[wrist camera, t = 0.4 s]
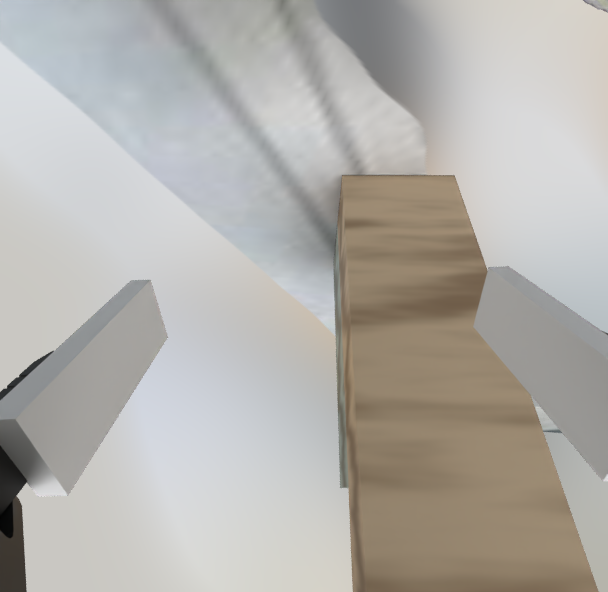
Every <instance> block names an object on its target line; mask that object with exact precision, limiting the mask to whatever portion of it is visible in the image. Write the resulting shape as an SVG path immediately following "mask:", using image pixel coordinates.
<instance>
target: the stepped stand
mask: <svg viewBox="0 0 608 592" xmlns="http://www.w3.org/2000/svg"><path fill="white" fill-rule="evenodd" d="M486 275H487V268H486V265H485V262H484V259H483V257H482V254H481V251H480V248H479V245H478V242H477V239H476V236H475V233H474V230H473V227H472V225H471V222H470V219H469V216H468V213H467V211H466V207H465V205H464V202H463V199H462V196H461V193H460V190H459V187H458V184H457V181H456V178H455V176H452V175H445V176H444V175H443V176H441V175H439V176H437V175H433V176H432V175H342V182H341V192H340V203H339V213H338V223H337V233H336V243H335V254H334V297H335V330H336V363H337V392H338V393H337V394H338V429H339V460H340V488H349V509H350V534H351V557H352V581H353V592H598V589H597V586H596V583H595V580H594V578H593V575H592V572H591V569H590V566H589V563H588V560H587V557H586V554H585V551H584V549H583V546H582V543H581V540H580V537H579V534H578V531H577V528H576V526H575V522H574V520H573V517H572V514H571V511H570V508H569V505H568V503H567V499H566V496H565V494H564V491H563V488H562V485H561V482H560V480H559V476H558V473H557V470H556V468H555V465H554V462H553V459H552V456H551V453H550V450H549V447H548V445H547V442H546V439H545V436H544V433H543V430H542V427H541V424H540V421H539V418H538V415H537V413H536V410H535V407H534V404H533V401H532V399H531V395H530V394H529V393H528V391H527V390H526V389H525V388H524V387H523V385H522V384H521V383H520V382H519V381H518V380H517V378H516V377H515V376H514V375H513V374H512V372H511V371H510V370H509V369H508V368H507V366H506V365H505V364H504V363H503V362H502V360H501V359H500V358H499V357H498V356H497V355H496V353H495V352H494V351H493V350H492V349H491V347H490V346H489V345H488V344H487V343H486V341H485V340H484V339H483V338H482V337H481V335H480V334H479V333H478V332H477V331H476V329H475V328H474V327H473V325H474V321H475V317H476V314H477V310H478V306H479V302H480V298H481V294H482V291H483V287H484V283H485V279H486Z"/></svg>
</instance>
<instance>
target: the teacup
mask: <svg viewBox="0 0 608 592" xmlns="http://www.w3.org/2000/svg"><path fill="white" fill-rule="evenodd" d="M583 1H584V2H586V3H587V4H590V5H592V6H594V7H595V8H597V9H601V10H603V11H606V12H608V0H583Z"/></svg>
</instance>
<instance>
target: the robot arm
mask: <svg viewBox="0 0 608 592" xmlns="http://www.w3.org/2000/svg"><path fill="white" fill-rule="evenodd" d="M473 327H474V328H475V329H476V331H477V332H478V333H479V334H480V335H481V337H482V338H483V339H484V340H485V341H486V343H487V344H488V345H489V346H490V347H491V349H492V350H493V351H494V352H495V353H496V355H497V356H498V357H499V358H500V359H501V360H502V362H503V363H504V364H505V365H506V366H507V368H508V369H509V370H510V371H511V372H512V374H513V375H514V376H515V377H516V378H517V380H518V381H519V382H520V383H521V384H522V385H523V387H524V388H525V389H526V390H527V391H528V393H529V394H530V395H531V396H532V397H533V399H534V400H535V401H536V402H537V403H538V404H539V406H540V407H541V408H542V409H543V410H544V412H545V413H546V414H547V415H548V416H549V418H550V419H551V420H552V421H553V422H554V424H555V425H556V426H557V427H558V428H559V430H560V431H561V432H562V433H563V434H564V436H565V437H566V438H567V439H568V440H569V441H570V443H571V444H572V445H573V446H574V447H575V449H577V451H578V452H579V453H580V455H581V456H582V457H583V458H584V459H585V460H586V462H587V463H588V464H589V465H590V466H591V468H592V469H593V470H594V471H595V472H596V474H597V475H598V476H599V477H600V478H601V480H602V481H608V333H605V332H603V331H601V330H599V329H598V328H597V327H595V326H594V325H592V324H591V323H590V322H588V321H586V320H585V319H584V318H582V317H581V316H580V315H578V314H577V313H575V312H574V311H572V310H571V309H569V308H568V307H567V306H565V305H564V304H562V303H561V302H559V301H558V300H556V299H555V298H554V297H552V296H551V295H549V294H548V293H546V292H545V291H543V290H542V289H540V288H539V287H538V286H536V285H535V284H533V283H532V282H530V281H529V280H528V279H526V278H525V277H523V276H522V275H520V274H519V273H517V272H516V271H515V270H513V269H512V268H510V267H509V266H506V267H489V268H488V271H487V275H486V279H485V283H484V287H483V291H482V294H481V298H480V302H479V306H478V310H477V314H476V317H475V321H474V325H473ZM167 338H168V336H167V333H166V330H165V326H164V323H163V320H162V316H161V314H160V310H159V306H158V303H157V300H156V296H155V293H154V290H153V286H152V283H151V280H135V281H134V280H133V281H130V282H129V283H128V284H127V285H126V286H125V287H124V288H122V289H121V290H120V291H119V292H118V293H117V294H116V295H115V296H114V297H113V298H112V299H110V300H109V301H108V302H107V303H106V304H105V305H104V306H103V307H102V308H101V309H100V310H99V311H97V312H96V313H95V314H94V315H93V316H92V317H91V318H90V319H89V320H88V321H87V322H85V324H83V325H82V326H81V327H80V328H79V329H78V330H77V331H76V332H75V333H73V334H72V335H71V336H70V337H69V338H68V339H67V340H66V341H65V342H64V343H62V345H60V346H59V347H58V348H57V349H56V350H55V351H52V352H50V353H48V354H47V355H45V356H43V357H42V358H40V359H38V360H37V361H35V362H33V363H32V364H31V365H30V366H29V367H28V368H27V369H26V370H24V371H23V372H22V373H21V374H20V375H19V378H15V379H14V380H13V381H12V382H11V383H10V384H9V385H8V386H7V389H3V390H2V391H1V392H0V592H26V574H25V556H24V540H23V539H24V537H23V519H22V505H21V503H20V501H19V499H18V498H17V496H16V495H17V494H18V493H19V491H20V490H21V489H22V488H23V486H24V485H25V484H26V482H27V483H28V484H29V486H30V487H31V488H32V490H33V491H34V492H35V494H36V495H37V496H68V495H69V493H70V492H71V490H72V489H73V487H74V485H75V484H76V482H77V481H78V479H79V477H80V476H81V474H82V473H83V471H84V469H85V468H86V466H87V465H88V463H89V461H90V460H91V458H92V457H93V455H94V454H95V452H96V450H97V449H98V447H99V446H100V444H101V442H102V441H103V439H104V438H105V436H106V435H107V433H108V431H109V430H110V428H111V426H112V425H113V423H114V422H115V420H116V419H117V417H118V416H119V414H120V412H121V411H122V409H123V408H124V406H125V404H126V403H127V401H128V400H129V398H130V396H131V395H132V393H133V392H134V390H135V389H136V387H137V385H138V384H139V382H140V381H141V379H142V377H143V376H144V374H145V373H146V371H147V369H148V368H149V366H150V365H151V363H152V362H153V360H154V358H155V356H156V355H157V354H158V352H159V350H160V349H161V347H162V345H163V344H164V342H165V341H166V339H167Z"/></svg>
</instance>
